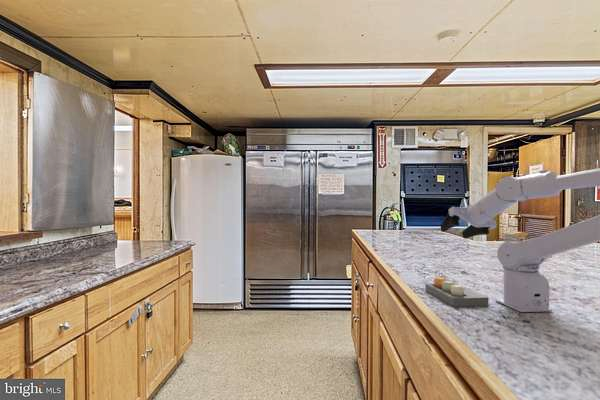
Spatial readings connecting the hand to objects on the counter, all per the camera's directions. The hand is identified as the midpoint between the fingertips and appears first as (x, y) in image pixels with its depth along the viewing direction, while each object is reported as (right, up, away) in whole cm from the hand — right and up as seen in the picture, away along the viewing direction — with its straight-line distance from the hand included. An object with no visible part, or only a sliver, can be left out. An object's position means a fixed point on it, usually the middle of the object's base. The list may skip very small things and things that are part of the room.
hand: (452, 232), depth 110 cm
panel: (-5, -16, -12) cm, 21 cm away
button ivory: (-6, -15, -16) cm, 23 cm away
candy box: (+24, -16, +9) cm, 30 cm away
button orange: (-7, -14, -8) cm, 18 cm away
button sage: (-6, -15, -12) cm, 20 cm away
